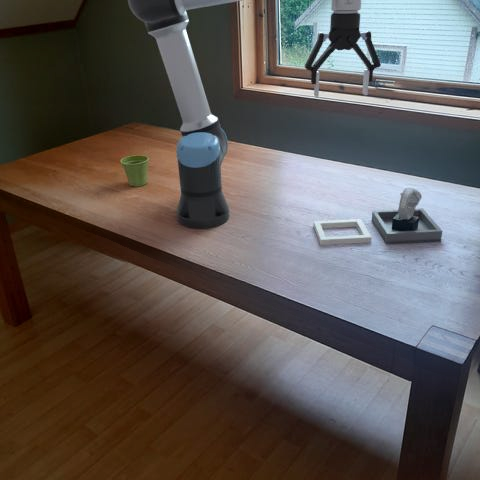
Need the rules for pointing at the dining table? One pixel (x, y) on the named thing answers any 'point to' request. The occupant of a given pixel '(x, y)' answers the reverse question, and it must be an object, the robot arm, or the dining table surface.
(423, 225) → the tray
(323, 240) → the white open frame
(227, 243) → the dining table surface
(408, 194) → the watch
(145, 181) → the plant pot
